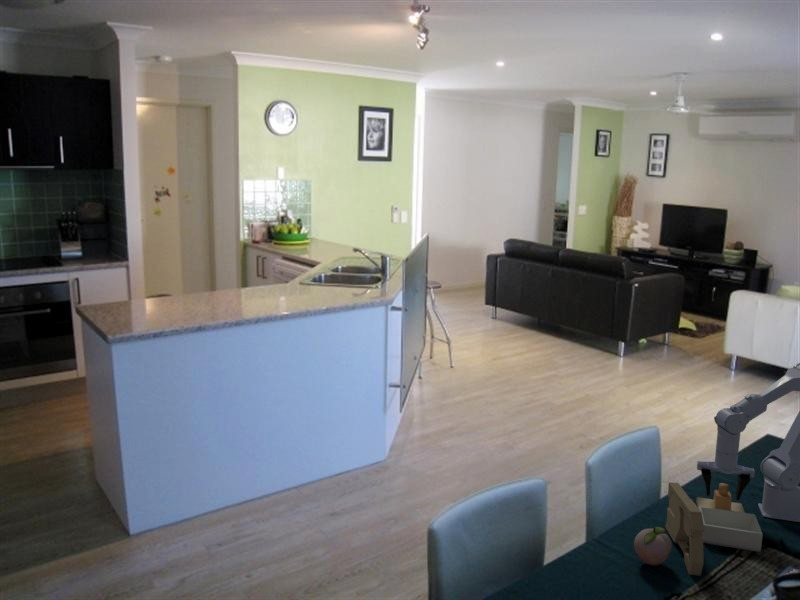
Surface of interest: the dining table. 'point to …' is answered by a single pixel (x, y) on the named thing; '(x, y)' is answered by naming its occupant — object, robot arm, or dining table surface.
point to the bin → (731, 529)
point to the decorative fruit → (653, 545)
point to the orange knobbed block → (722, 498)
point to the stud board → (709, 503)
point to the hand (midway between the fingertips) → (722, 496)
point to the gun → (686, 527)
